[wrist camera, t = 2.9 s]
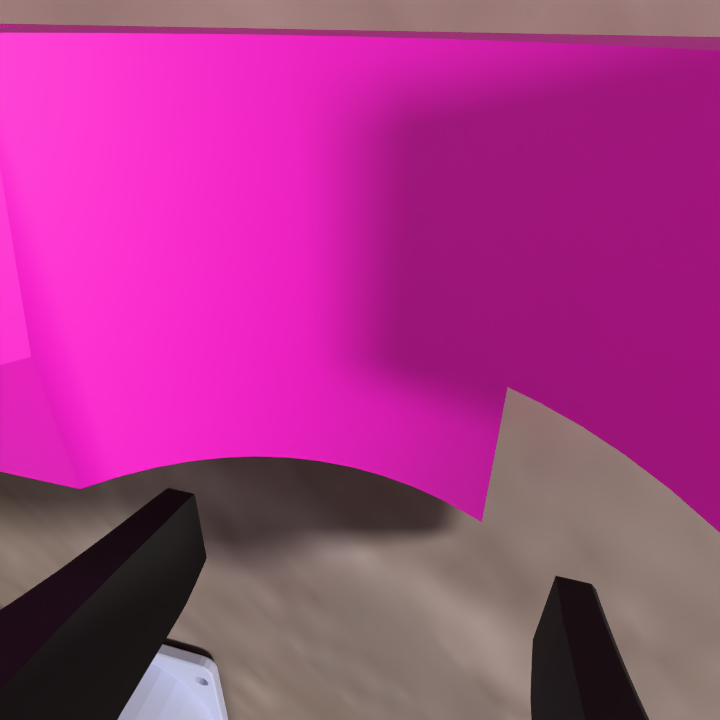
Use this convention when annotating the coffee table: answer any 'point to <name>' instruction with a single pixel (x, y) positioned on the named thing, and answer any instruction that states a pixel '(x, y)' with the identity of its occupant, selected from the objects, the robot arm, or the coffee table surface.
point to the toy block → (356, 249)
